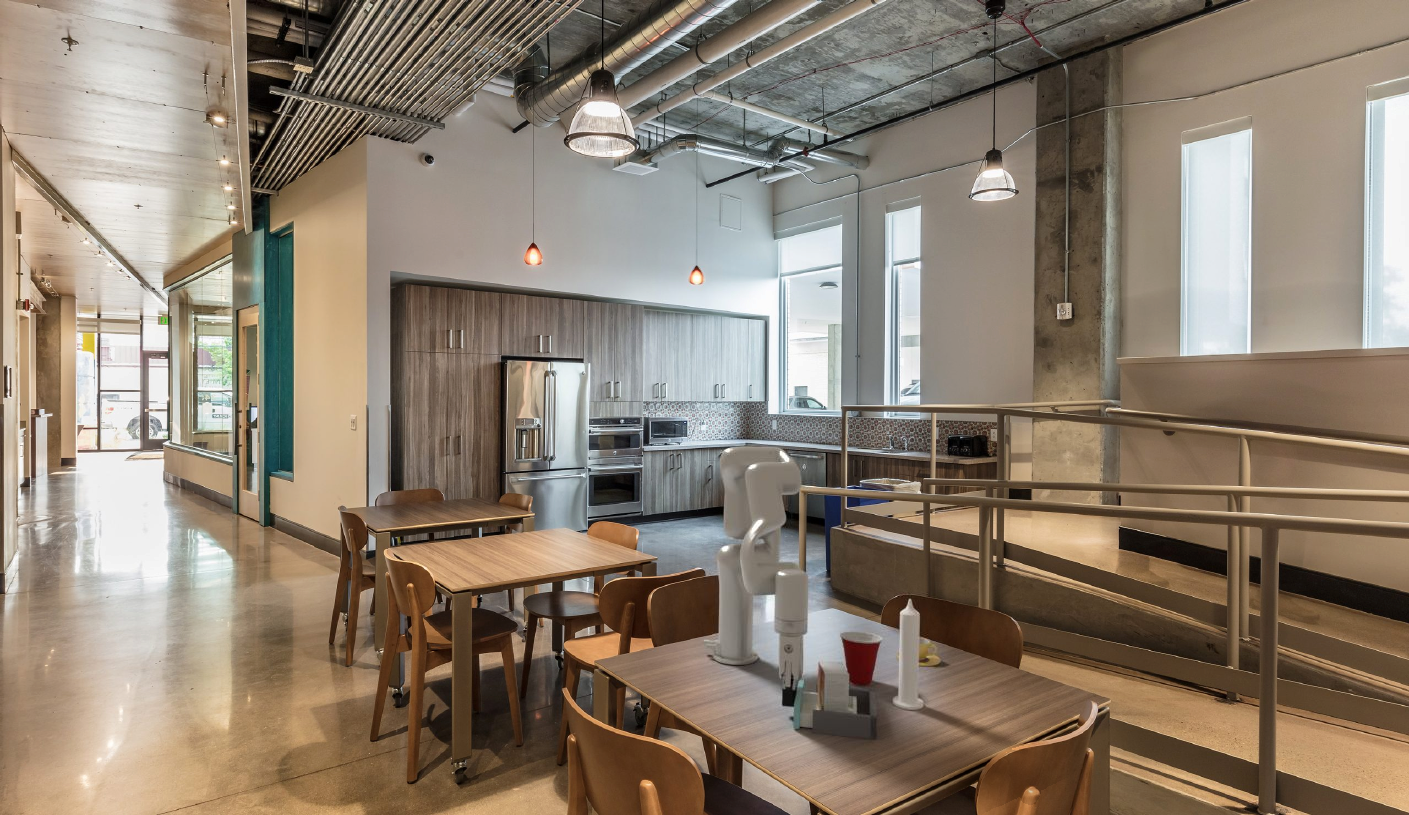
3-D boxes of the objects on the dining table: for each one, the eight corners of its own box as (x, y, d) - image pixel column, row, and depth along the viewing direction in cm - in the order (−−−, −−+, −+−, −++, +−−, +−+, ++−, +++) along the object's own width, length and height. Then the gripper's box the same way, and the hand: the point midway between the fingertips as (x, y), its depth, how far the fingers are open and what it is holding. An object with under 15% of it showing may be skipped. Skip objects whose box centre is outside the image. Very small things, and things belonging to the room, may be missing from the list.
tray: (793, 728, 157) (793, 705, 157) (798, 700, 172) (799, 679, 172) (856, 734, 155) (857, 711, 155) (856, 706, 170) (856, 685, 170)
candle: (924, 700, 175) (926, 596, 175) (922, 712, 168) (925, 604, 168) (893, 696, 177) (896, 593, 177) (891, 707, 170) (893, 600, 170)
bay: (812, 732, 156) (812, 711, 156) (816, 703, 172) (816, 684, 172) (876, 739, 153) (876, 718, 153) (874, 708, 169) (874, 689, 169)
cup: (893, 663, 201) (894, 643, 201) (899, 650, 212) (899, 631, 212) (939, 670, 196) (939, 650, 196) (942, 656, 208) (942, 637, 208)
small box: (817, 706, 167) (817, 660, 167) (841, 706, 167) (842, 661, 167) (823, 721, 159) (824, 673, 159) (848, 721, 159) (849, 673, 159)
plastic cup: (886, 678, 189) (887, 632, 189) (876, 692, 179) (877, 643, 179) (845, 670, 194) (846, 625, 194) (833, 684, 184) (834, 636, 184)
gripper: (805, 636, 157) (803, 720, 157) (809, 616, 172) (808, 694, 172) (770, 633, 159) (768, 716, 159) (778, 614, 173) (776, 691, 173)
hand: (789, 705), depth 165 cm, fingers closed
